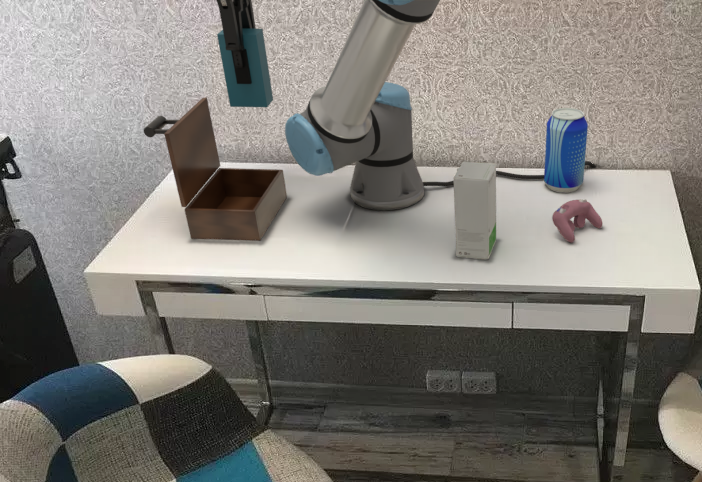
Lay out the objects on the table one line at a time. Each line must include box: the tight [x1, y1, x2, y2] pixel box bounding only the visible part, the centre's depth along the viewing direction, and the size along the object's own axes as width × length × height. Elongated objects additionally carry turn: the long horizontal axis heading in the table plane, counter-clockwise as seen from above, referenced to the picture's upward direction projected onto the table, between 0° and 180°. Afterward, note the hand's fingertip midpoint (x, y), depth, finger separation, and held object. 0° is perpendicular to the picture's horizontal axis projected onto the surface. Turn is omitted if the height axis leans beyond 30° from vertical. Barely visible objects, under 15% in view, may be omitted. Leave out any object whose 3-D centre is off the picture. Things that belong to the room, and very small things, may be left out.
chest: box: [184, 167, 288, 242], centre depth 154 cm, size 13×19×7 cm
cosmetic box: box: [452, 161, 497, 260], centre depth 142 cm, size 8×7×16 cm
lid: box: [143, 97, 221, 208], centre depth 149 cm, size 14×19×8 cm
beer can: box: [543, 107, 589, 194], centre depth 165 cm, size 8×8×16 cm
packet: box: [216, 28, 274, 108], centre depth 155 cm, size 8×5×14 cm, turn 88°
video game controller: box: [551, 198, 603, 244], centre depth 151 cm, size 10×5×7 cm, turn 135°
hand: (248, 78), depth 157 cm, fingers closed on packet, 5 cm apart
